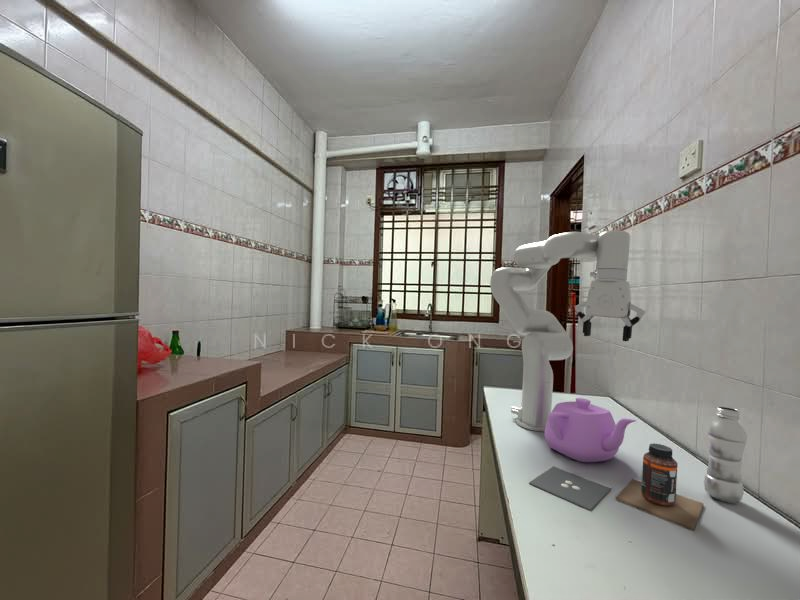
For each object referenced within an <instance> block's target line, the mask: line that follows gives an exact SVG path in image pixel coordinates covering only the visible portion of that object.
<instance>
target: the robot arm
mask: <svg viewBox="0 0 800 600" xmlns="http://www.w3.org/2000/svg"><path fill="white" fill-rule="evenodd" d="M630 242H631V235H630V233H629V232H628V231H626V230H617V229H616V230H615V229H614V230H606V231H603V232H600V234H593V233H587V232H582V231H568V232H562V233H558V234H553V235H551V236H549V237H548V238H547V239H546V240H542V241H537V242H532V243H527V244H523V245H520V246H518V247H517V248H516V249H515V251H514V252H513V261H514V263H515V264H517V266H519V267H521V268H518V267H517V268H516V267H509V266H508V267H500V268H497V269H495V270H493V272H492V274H491V276H490V282H489V283H490V285H489V286H490V291H491V293H492V296H493V298H494V299H495V301H496V302H497V303H498V305H499V306H500V307H501V309H502V310H503V312H504V314H505V316H506V317H507V320H508V321H509V322H510V324H511V326H512V327H513V329H514V331H515V332H516V333H517V334H518V335H522V336H524V337H523V338H522V340H521V352H522V361H523V365H522V366H523V372H522V391H521V403H520V404H521V407H517V406H514V405H513V406H511V408H510V409H511V410H510V412H511V414H513V415H517V417H516V418H515V423H516V424H517V425H518V426H520V427H522V428H524V429H527V430H531V431H536V432H544V433H545V428H546V424H547V421H548V416H549V414H550V413H551V412H552V409H553V408H552V407H553V406H552V405H553V404H552V403H553V390H554V388H553V387H554V372H553V371H554V370H553V369H552V365H551V364H550V361H563V360H567V359H568V358H569V357H571V355H572V354H573V351H574V345H573V342H572V339H571V337H570V336H569V333H567V331H566V330H565V328H564V327H563V325H562V324H561V323H560V322H559V320H558V319H557V317H556V316H555V315H554V314H553V313H551V311H548V310H544V309H534V308H532V307H530V306H529V305H528V303H527V302H526V300H525V299H524V298H523V297H522V295H520V294H519V293H518V292H519V291H522V292H528V291H531V290H533V289H534V288H535V287H536V286H537V284H539V283H540V282H541V280H542V279H543V278H544V276H545V275H546V274H547V272H549V270H550V269H551V267H552V266H554V265H555V266H556V264H558V263H559V262H560V261H561V260H562V259H579V260H587V261H596V264H595V269H594V271H593V272H592V271H591V272H590V273H589V276H590V277H591V278H593V279H594V280H591V281H590V285H589V289H588V291H587V292H588V293H587V297H586V301H584V302H581V303H579V304H577V305H575V306H574V309H575V311H576V313H577V316H578V317H579V318H580V319H581V321H582V322H583V324H582V333H583V336H584V337H590V336H591V334H592V333H591V332H592V330H591V329H592V322H591V320H592V319H593V318H595V317H598V318H610V319H621V321H623V322H622V323H624V324H625V325H624V326H623V330H622V342H629V341H630V340H631V338H632V332H633V327H634V326H635V325H636V324H637V323H639V322H640V321H641V320H642V318H644V316H645V314H646V313H647V312H646V311H647V310H645V309H642V307H638V305H635V304H633V303H632V297H631V296H632V295H631V286H630V282H629V281H628V270H629V258H630V256H629V255H630V245H631V243H630ZM516 291H518V292H516ZM583 308H585V313H584V312H583ZM631 311H634V312H635V313H636V315H635V317H633V318H632V319H631V317H630V316H631Z"/></svg>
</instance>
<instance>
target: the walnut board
mask: <svg viewBox="0 0 800 600" xmlns="http://www.w3.org/2000/svg"><path fill="white" fill-rule="evenodd" d="M641 488H642V480H641V481H640V480H638V479H634V478H632V479H631V480H629V482H628V483H627V484H626V485H625V486H624V488H623V489H621V491H620V492H619V493H618V494H617V495H616V497H615V501H618V500H619V501H618V502H620V501H621V503H623V502H624V503H623V504H625V503H626V505H628V504H629V505H628V506H630V505H631V506H630V507H634V508H635V507H636V509H638V510H640V509H641V510H640V511H643V512H645V511H646V512H645V513H648V514H650V515H652V516H656V517H658V518H660V519H663V520H666V521H668V522H670V521H671V522H670V523H673V522H674V523H673V524H675V523H676V524H675V525H678V526H680V525H681V526H680V527H683V528H685V527H686V529H687V530H690V529H691V530H690V531H693V530H694V531H695V529H696V526H697V523H698V521H699V519H700V516H701V513H702V510H703V508H704V502H700V501H698V500H694V499H692V498H688V497H686V496H684V495H680V494H677V493H676V500H675V504H674V505H672V506H663V505H659V504H656V503H653V502H651V501H649V500H647V499H646V498H645V497H644V496H643V495H642V493H641V491H642V490H641Z"/></svg>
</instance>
